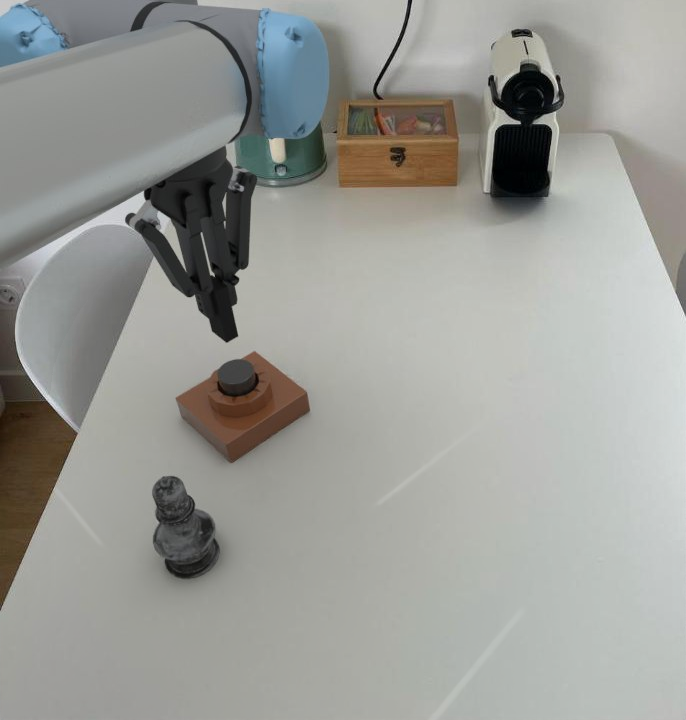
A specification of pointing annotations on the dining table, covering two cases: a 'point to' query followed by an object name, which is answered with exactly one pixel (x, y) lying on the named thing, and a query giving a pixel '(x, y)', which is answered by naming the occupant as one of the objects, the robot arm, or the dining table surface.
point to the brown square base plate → (243, 409)
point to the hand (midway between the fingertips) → (225, 333)
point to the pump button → (237, 378)
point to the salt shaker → (182, 530)
